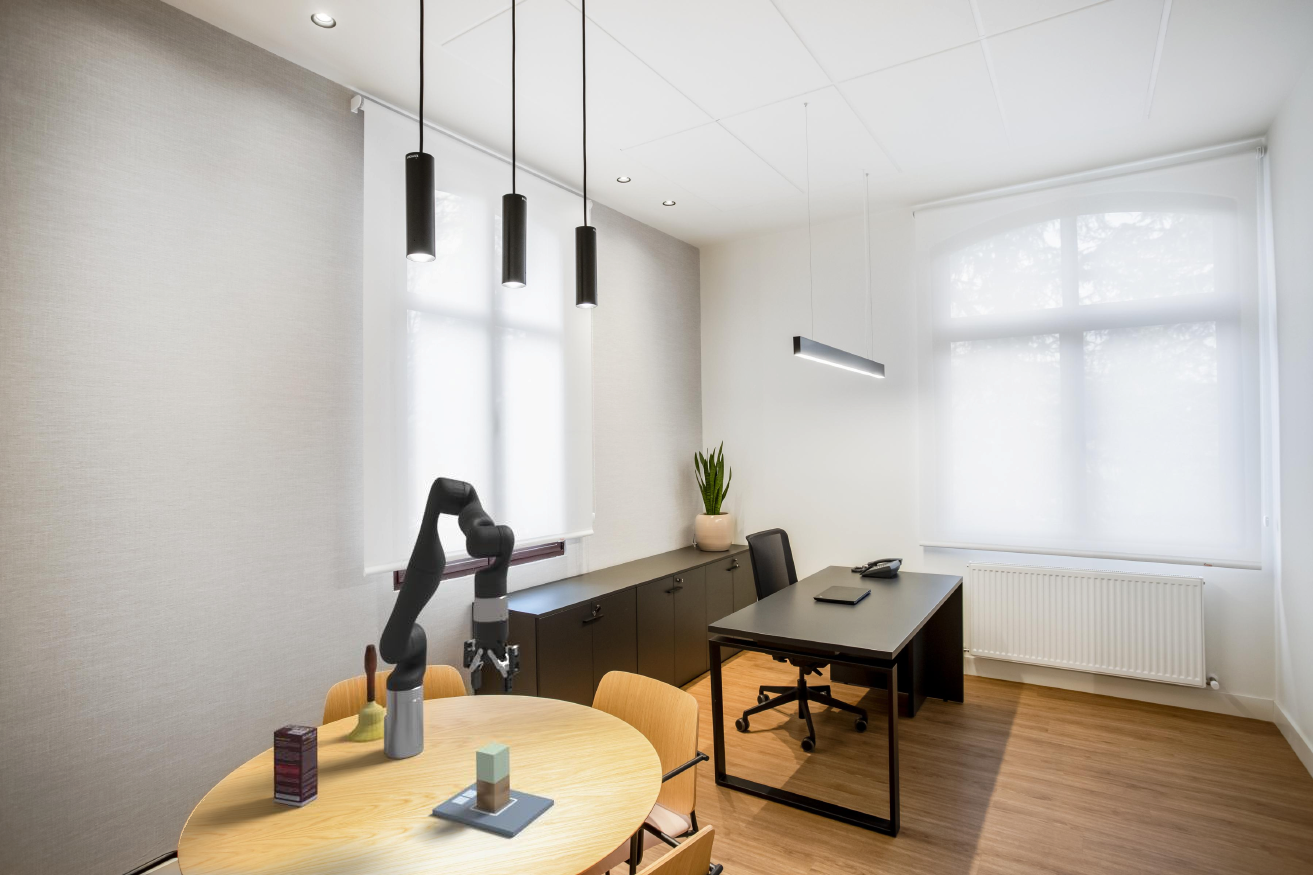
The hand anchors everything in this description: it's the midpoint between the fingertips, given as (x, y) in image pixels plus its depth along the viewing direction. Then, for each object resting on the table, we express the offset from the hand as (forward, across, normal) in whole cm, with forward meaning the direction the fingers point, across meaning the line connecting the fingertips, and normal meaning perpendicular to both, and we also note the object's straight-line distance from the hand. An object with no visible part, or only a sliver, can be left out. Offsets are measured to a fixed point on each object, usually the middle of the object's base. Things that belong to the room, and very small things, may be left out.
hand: (491, 690), depth 145 cm
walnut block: (+24, 0, 0) cm, 25 cm away
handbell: (+26, -61, +19) cm, 69 cm away
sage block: (+18, 0, 0) cm, 19 cm away
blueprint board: (+26, 0, 0) cm, 26 cm away
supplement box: (+26, -45, -15) cm, 54 cm away
